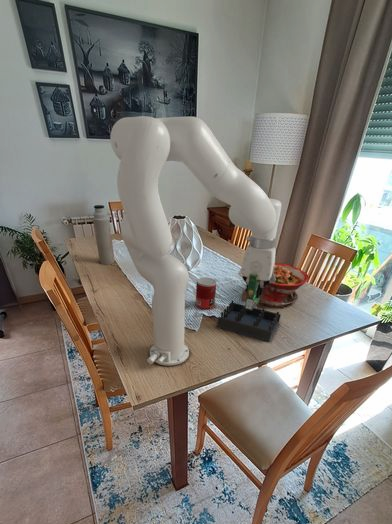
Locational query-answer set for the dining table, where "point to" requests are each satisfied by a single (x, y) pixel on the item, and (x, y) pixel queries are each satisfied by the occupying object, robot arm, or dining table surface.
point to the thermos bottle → (103, 235)
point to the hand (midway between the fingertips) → (253, 295)
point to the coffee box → (252, 292)
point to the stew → (281, 286)
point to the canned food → (205, 293)
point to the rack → (249, 321)
